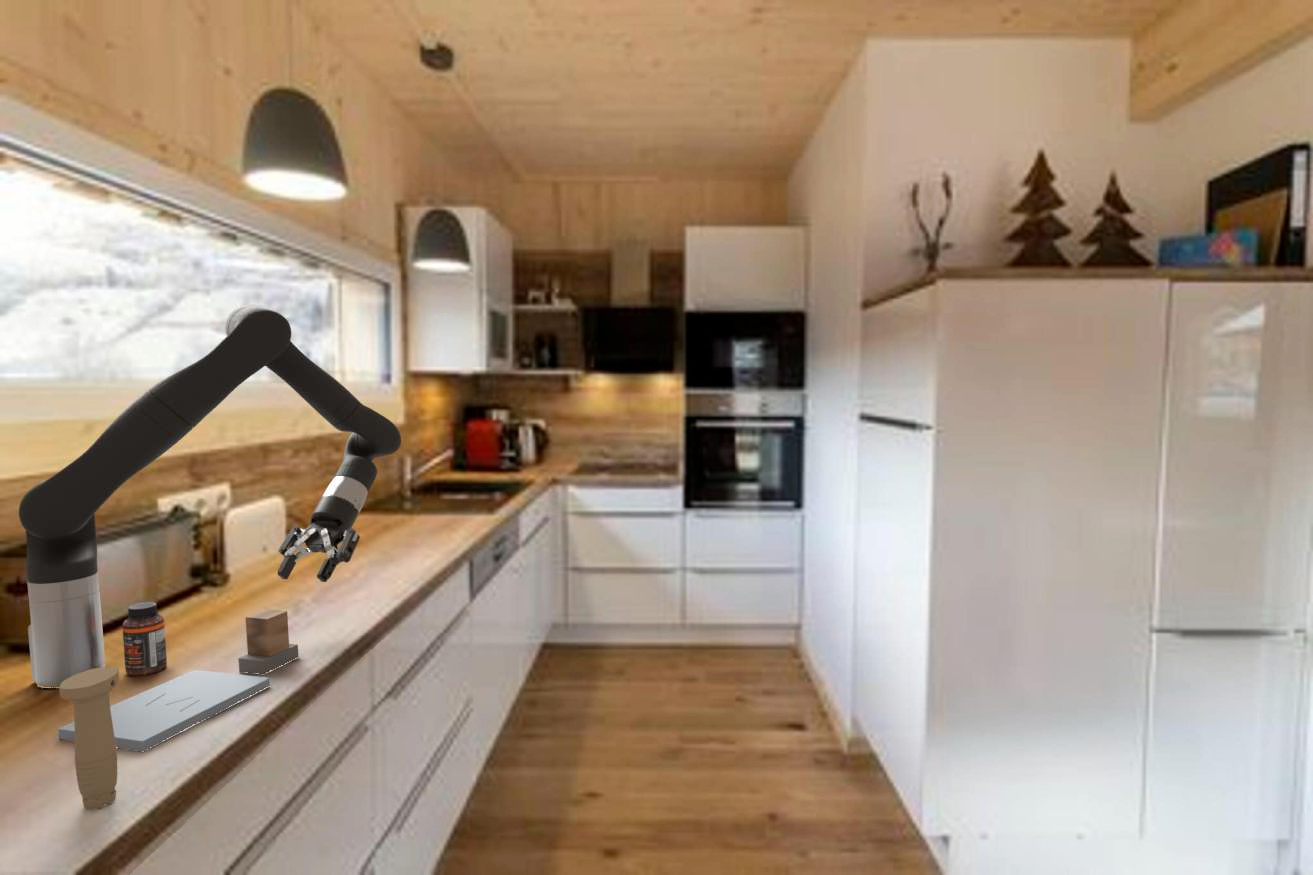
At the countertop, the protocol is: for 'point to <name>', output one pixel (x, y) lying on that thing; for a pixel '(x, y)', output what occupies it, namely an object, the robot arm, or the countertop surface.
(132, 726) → the board
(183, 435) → the robot arm
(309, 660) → the countertop surface
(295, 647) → the block
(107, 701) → the handle
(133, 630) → the supplement bottle
